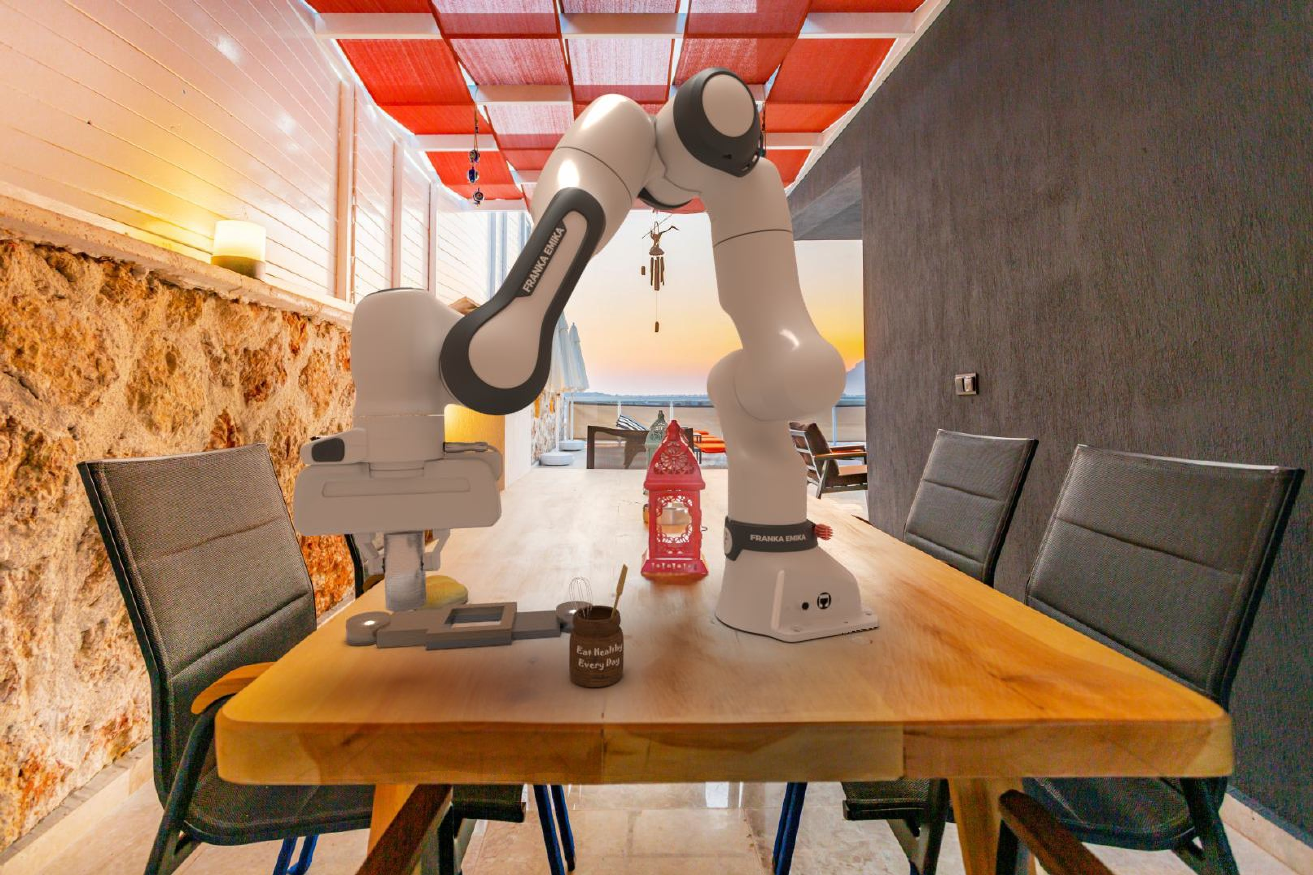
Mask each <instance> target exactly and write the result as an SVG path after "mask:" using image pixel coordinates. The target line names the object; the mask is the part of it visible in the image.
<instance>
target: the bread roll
mask: <svg viewBox="0 0 1313 875" xmlns="http://www.w3.org/2000/svg"><path fill="white" fill-rule="evenodd" d="M468 597H469V591H468V589H467V587H466V585H464V584H462V583H459V582H458V581H457V580H456V579H454V578H453V577H451V576H447V575H439V574H438V575H437V574H436V575H430V576H426V601H427V602H426V604H425V605H424V606H422V607H420V608H417V609H414V611H416V610H435V609H441V608H442V606H443V605H462V604H466V602H467V600H468Z"/></svg>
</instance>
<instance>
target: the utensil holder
mask: <svg viewBox="0 0 1313 875" xmlns="http://www.w3.org/2000/svg"><path fill="white" fill-rule="evenodd" d="M621 568H622V569H621V572H620V575H619V578H618V581H617V586H616V589H615V590H616V593H615V594H616V597H615V600H614V604H613V607H612V606H608V605H593V606H591V604H592V597H589V600H590V602H589V603H591V604H590V606H587V607H585V606H584V607H582V608H580V609H577V611H576V612H575V613H574V616H573V626H574V628H573V629H572V631H571V632H570V633H569V634H570V635H569V646H568V647H569V648H568V649H569V650H568V651H569V652H568V653H569V654H568V655H569V656H568V657H569V658H568V659H569V660H568V662H569V663H568V664H569V668H568V669H569V676H570V679H571V680H572V682H574V683H575V684H576V685H579V686H581V687H586V688H602V687H607V686H611V685H614V683H617V682H618V681H619V680H620V679H621V677H622V676H623V672H624V664H625V662H624V660H625V659H624V656H625V653H624V650H625V649H624V648H625V647H624V644H625V643H624V638H625V637H624V632H623V630H622V627H621V626H620V625H621V623H622V618H621V613H620V611H619V609H617V608H618V605H619V604H618V603H619V600H620V597H621V596H622V595H623V592H624V586H625V582H626V578H627V574H628V569H629V567H628V566H627V565H626V564H625V563H623V565H622V567H621ZM580 580H582V581H583V582H584V583H585V586H586V587H585V590H586V591H587V592H586V594H587V596H591V595H593V593H592V591H589V589H590V590H592V587H591V584H590V581H588V580H587V579H586V578H585V577H582V576H579V577H574V578H573V579H572V581H571V582H570V584H569V587H568V588H569V589H568V590H569V591H568V592H569V593H571V592H570V591H572V593H571V595H572V597H573V598H572V597H571V595H569V599H570V601H571V603H572V600H573V601H575V600H576V598H575V595H574V593H575V591H574V589H575V585H573V588H572V583H573V584H575V583H576V584H577V585H579V584H581V582H580ZM573 581H574V582H573ZM586 581H587V582H586ZM588 585H589V586H588ZM579 586H580V588H582V586H581V585H579ZM579 586H577V588H578V590H580V591H581V593H582V592H583V590H582V589H580V588H579ZM580 591H578V593H579V598H580V599H579V600H582V601H583V603H584V602H585V601H584V599H581V595H582V598H584V596H583V594H581V593H580ZM580 594H581V595H580ZM590 594H591V595H590ZM574 603H575V604H576V602H574ZM581 604H582V602H581ZM572 606H573V605H572ZM575 606H576V605H575ZM573 608H574V607H573ZM576 608H577V606H576ZM574 610H575V609H574Z"/></svg>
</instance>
